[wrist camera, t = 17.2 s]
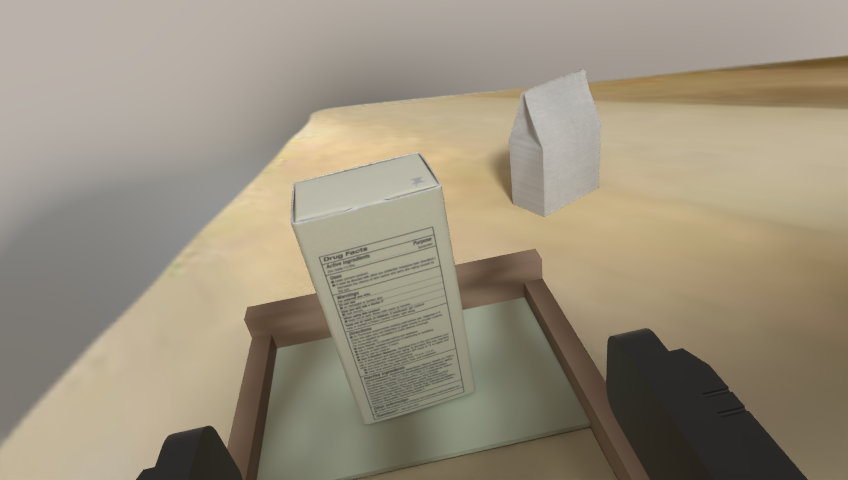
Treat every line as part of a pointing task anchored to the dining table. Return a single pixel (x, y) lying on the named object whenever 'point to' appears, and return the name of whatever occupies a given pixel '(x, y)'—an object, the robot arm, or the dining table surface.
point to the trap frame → (432, 426)
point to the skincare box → (386, 283)
